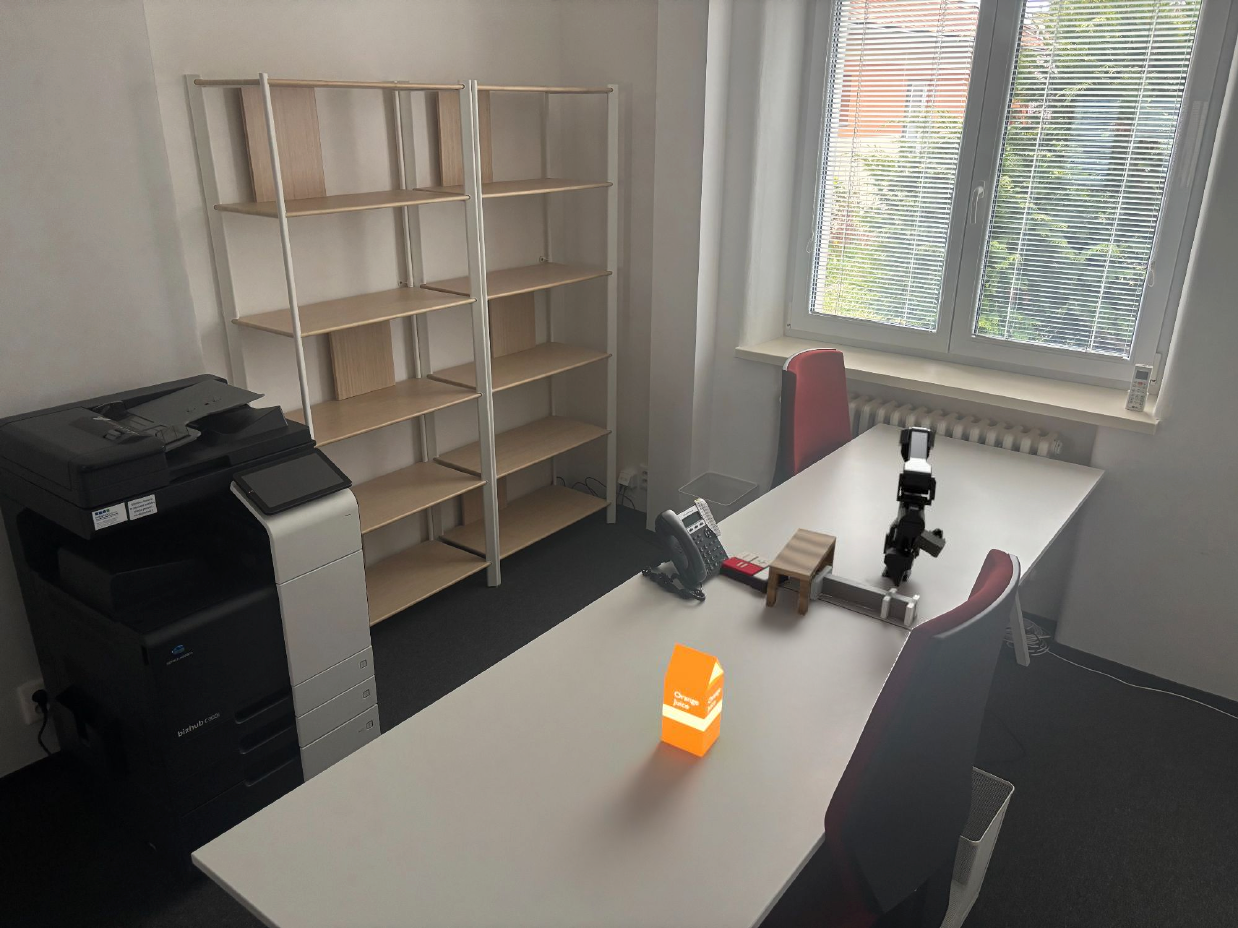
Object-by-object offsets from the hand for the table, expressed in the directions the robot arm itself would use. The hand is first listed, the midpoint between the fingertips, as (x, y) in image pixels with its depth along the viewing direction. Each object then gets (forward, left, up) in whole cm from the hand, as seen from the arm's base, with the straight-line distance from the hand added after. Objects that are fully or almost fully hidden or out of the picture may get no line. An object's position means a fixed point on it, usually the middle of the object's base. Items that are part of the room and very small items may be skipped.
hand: (900, 578), depth 209 cm
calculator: (-1, -37, -11) cm, 38 cm away
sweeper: (-1, -8, -10) cm, 13 cm away
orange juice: (+67, -25, -10) cm, 72 cm away
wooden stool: (0, -24, -10) cm, 26 cm away
